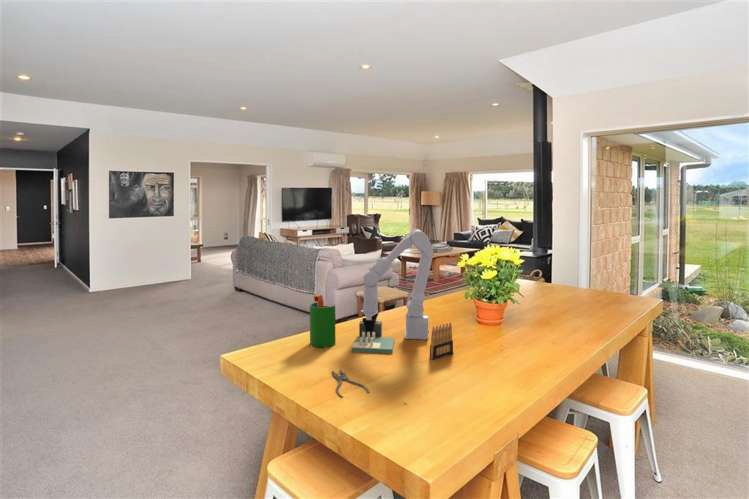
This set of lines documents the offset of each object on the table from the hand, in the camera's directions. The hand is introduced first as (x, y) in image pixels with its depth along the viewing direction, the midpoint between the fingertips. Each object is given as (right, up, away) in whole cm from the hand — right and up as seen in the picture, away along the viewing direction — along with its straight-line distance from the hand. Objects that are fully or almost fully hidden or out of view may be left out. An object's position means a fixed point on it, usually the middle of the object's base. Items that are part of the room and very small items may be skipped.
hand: (370, 332), depth 189 cm
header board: (+1, -3, -12) cm, 12 cm away
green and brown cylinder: (-19, -3, -9) cm, 21 cm away
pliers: (-8, -8, -47) cm, 48 cm away
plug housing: (0, -2, 0) cm, 2 cm away
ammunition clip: (+26, -5, -22) cm, 35 cm away
